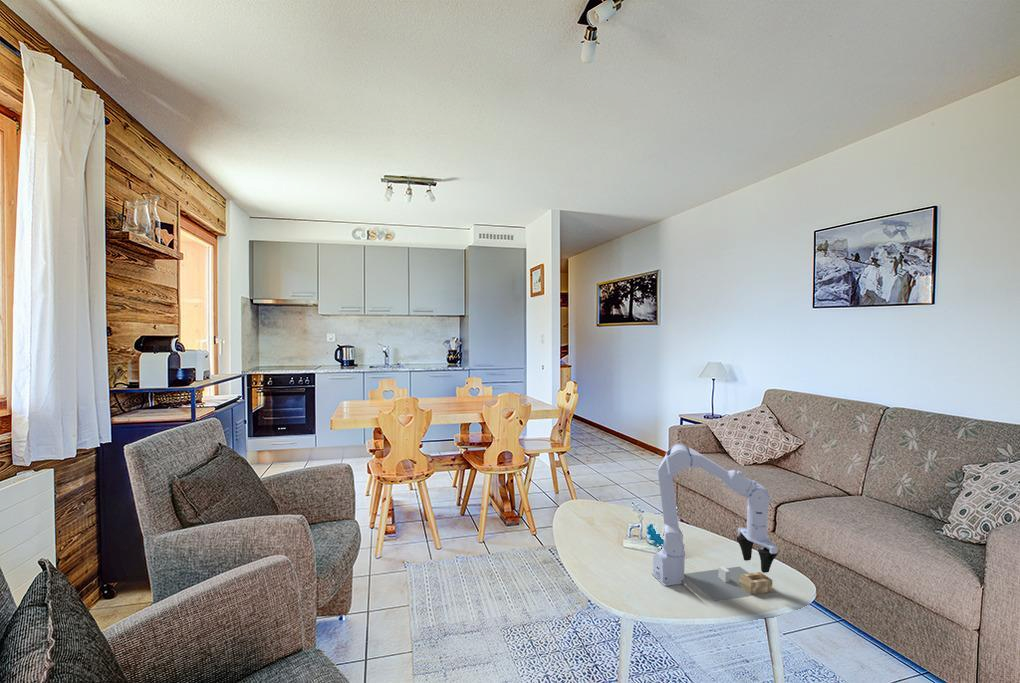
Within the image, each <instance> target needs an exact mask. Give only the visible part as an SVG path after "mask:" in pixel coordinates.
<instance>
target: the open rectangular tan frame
mask: <svg viewBox="0 0 1020 683" xmlns="http://www.w3.org/2000/svg"><path fill="white" fill-rule="evenodd" d="M748 573H749V574H742V575H739V586H740V587H741V588H742V589H744V590H745V591H746V592H748V593H749V594H750V595H751V594H758V593H765V592H772V589H773V579H771V578H770V577H769V576H767V575H766V574H765V573H763V572H762V571H757V572H751V573H750V572H748Z"/></svg>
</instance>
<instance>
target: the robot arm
mask: <svg viewBox="0 0 1020 683" xmlns="http://www.w3.org/2000/svg"><path fill="white" fill-rule="evenodd" d="M689 467H690V468H691V469H696V468H700V469H703V470H704V471H706V472H708V473H709V474H711V475H714V476H715V477H717V478H719V479H721V480H723V485H724V486H725V487H727V488H729V489H730V490H731V491H733V492H735V493H737V494H739V495H740V496H742V497H743V498H747V508H746V528H745V527H742V526H741V527H737V534H738V535H739V536H736V541H737V543H738V544H739V546H740V549H741V553H742V554H741V555H742V556H743V561H746V562H747V561H751V560H752V555H753V554H752V553H753V547H754V544H756V545H758V546H760V547H762V549H761V548H760V549H757V553H758V555H759V558H760V570H761V571H760V572H761V573H763V574H765V573H769V572H770V569H771V566H772V564H773V562H774V560H775V558H776V557H777V556H778V555H779V552H778V546H776V545H775V544H773V542H772V541H771V540H770V536H768V520H769V519H768V518H769V517H768V513H769V512H768V511H769V510H768V505H769V504H770V503H771V497H770V494H769V492H768V490H767V489H766V488H765V486H763V485H762V484H761V483H760V482H758V481H757V480H754V479H753V480H752V479H750V478H748V477H747V476H745V475H743V472H742V471H740V470H737V471H736V470H735V469H732V470H727V469H725V467H722V466H721V465H719V464H717V462H714V461H713V460H712V459H710V458H708V457H707V456H705V455H703V454H702V453H700V452H699V451H697V450H695V449H693V448H691V447H688V446H687V445H685V444H683V443H676V444H673V445H672V446H670V447H669V448H667V450H666V452H665V456H664V457H663V459H662V460H661V463H660V464H659V465H658V468H657V473H658V474H657V475H658V484H659V490H660V492H659V493H660V499H661V507H662V515H663V524H664V531H663V532H662V533H663V536H664V544H663V547H662V549H660V551H658V552H656V553H654V555H653V557H652V558H653V559H652V560H653V562H652V563H653V564H652V566H653V568H652V572H651V574H652V575H653V577H655V578H656V579H657V580H658V581H659V582H660V583H661V584H662V585H663V586H665V587H666V586H674V585H681V584H685V582H684V581H683V580H684V579H685V575H684V574H685V559H686V558H685V557H686V556H685V555H686V554H685V552H686V551H685V545H684V535H683V532H682V531H681V528H680V525H679V518H678V510H677V509H678V508H677V501H676V494H675V485H674V476H676V475H677V474H678V472H681V471H684V470H686V469H687V468H689Z"/></svg>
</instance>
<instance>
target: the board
mask: <svg viewBox="0 0 1020 683" xmlns="http://www.w3.org/2000/svg"><path fill="white" fill-rule="evenodd" d="M749 573H750V572H748V571H747V570H745V569H744V568H743V567H741V566H735V567H733V566H732V567H725V566H724V565H720V566H718V569H712V570H710V569H709V570H703V571H695V572H688V573H684V577H686V578H687V579H689V580H690V581H691V582H692V583H693V584H694V585H695V586H697V587H698V588H699V589H700V590H701V591H702V592H703V593H705V594H706V595H707V596H708V597H710V598H711V599H712V600H713V601H714V602H718V601H725V600H730V599H731V600H732V599H737V598H738V599H739V598H744V597H746V598H747V597H752V596H759V595H765V594H772V593H776V592H777V591H776V590H774V589H773V588H772V592H765V593H758V594H751V595H750V594H749V593H748V592H746V591H745V590H744V589H742V588H741V587H740V586H739V575H742V574H749Z"/></svg>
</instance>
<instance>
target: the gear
mask: <svg viewBox="0 0 1020 683" xmlns="http://www.w3.org/2000/svg"><path fill="white" fill-rule="evenodd" d="M653 525H654V524H653V523H650V524H648V526H647V527H646V530H647V531H646V534H647V535H648V536H649V537H648V540H654V541H653V542H652V544H653V546H654V547H657V546H662V545H661V544H664V540H663V539H661V537H660V534H656V531H655V529H654V527H653Z"/></svg>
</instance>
